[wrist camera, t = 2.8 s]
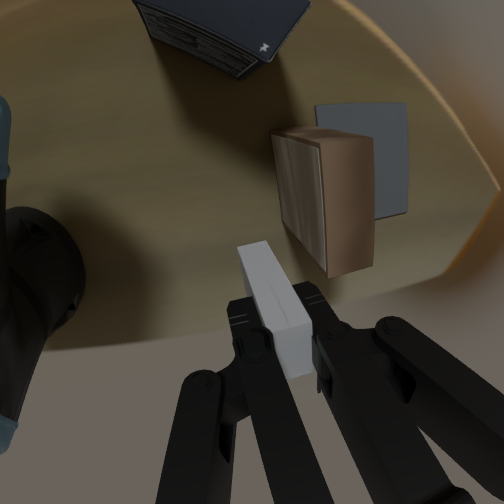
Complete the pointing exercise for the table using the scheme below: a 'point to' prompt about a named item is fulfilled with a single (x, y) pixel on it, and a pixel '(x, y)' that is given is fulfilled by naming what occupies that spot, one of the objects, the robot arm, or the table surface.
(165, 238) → the table surface
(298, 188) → the brown rectangular box
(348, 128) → the mat
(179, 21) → the small box
